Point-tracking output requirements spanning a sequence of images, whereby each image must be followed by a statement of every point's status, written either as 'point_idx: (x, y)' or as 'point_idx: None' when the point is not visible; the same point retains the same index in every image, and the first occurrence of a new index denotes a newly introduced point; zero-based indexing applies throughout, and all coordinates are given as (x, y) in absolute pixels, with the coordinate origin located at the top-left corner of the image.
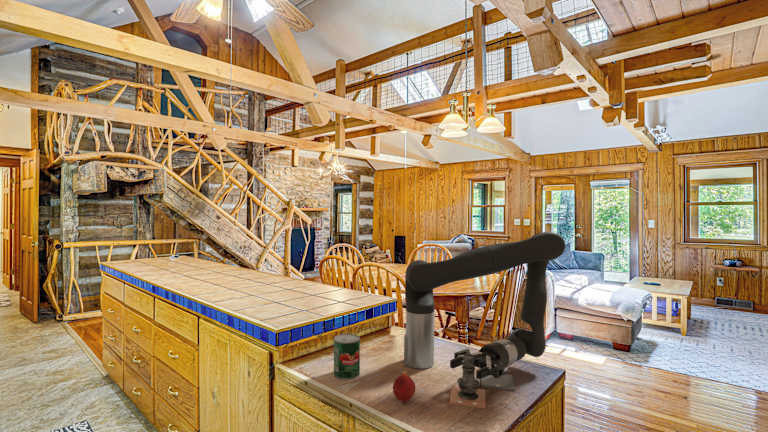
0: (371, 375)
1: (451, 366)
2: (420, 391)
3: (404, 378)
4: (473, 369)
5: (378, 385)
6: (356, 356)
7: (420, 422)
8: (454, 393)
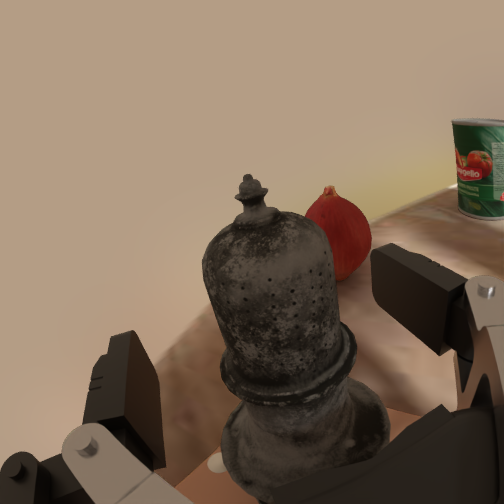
0: (495, 233)
1: (376, 283)
2: None
3: (315, 202)
4: (226, 369)
5: (442, 243)
6: (473, 164)
7: None
8: None
